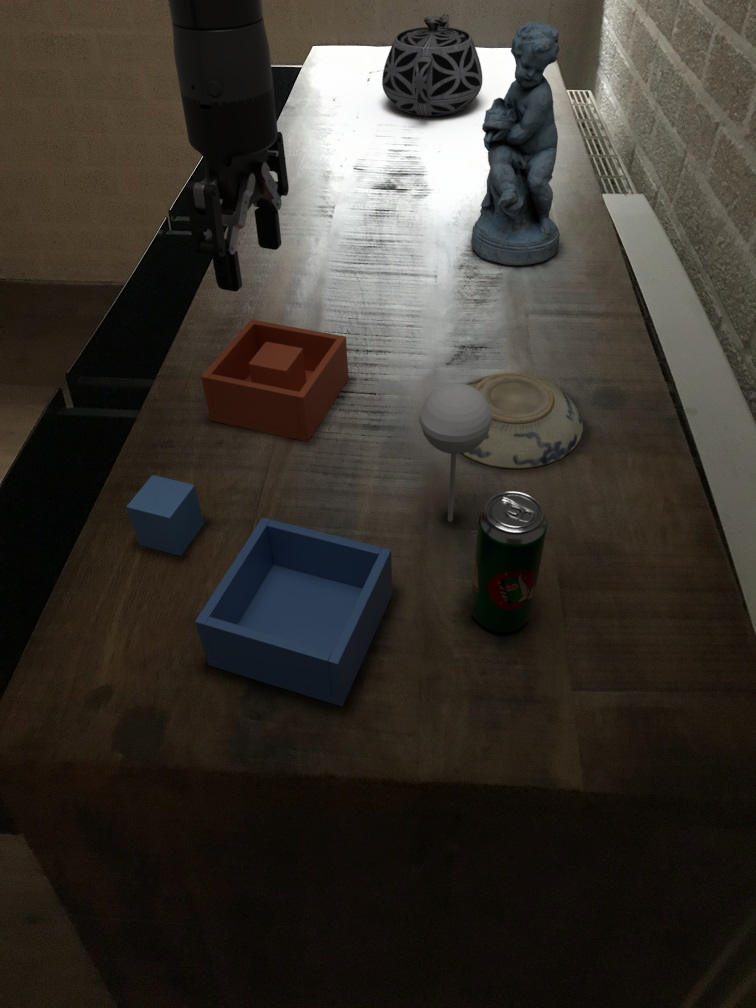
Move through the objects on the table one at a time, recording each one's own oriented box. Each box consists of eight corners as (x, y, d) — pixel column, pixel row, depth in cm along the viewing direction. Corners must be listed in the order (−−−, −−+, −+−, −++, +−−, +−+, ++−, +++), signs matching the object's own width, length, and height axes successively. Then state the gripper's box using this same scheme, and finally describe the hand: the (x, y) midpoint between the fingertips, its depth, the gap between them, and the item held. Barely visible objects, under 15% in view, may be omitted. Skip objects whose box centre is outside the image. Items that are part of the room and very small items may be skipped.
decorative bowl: (610, 424, 84) (503, 364, 92) (617, 396, 82) (506, 337, 90) (517, 493, 77) (410, 421, 85) (521, 465, 75) (410, 394, 83)
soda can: (486, 580, 69) (497, 478, 61) (540, 602, 67) (559, 501, 59) (459, 620, 66) (468, 520, 58) (515, 645, 64) (532, 545, 56)
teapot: (489, 80, 164) (495, -4, 154) (471, 134, 143) (476, 41, 133) (399, 76, 168) (398, -6, 157) (368, 129, 146) (365, 38, 136)
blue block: (139, 545, 73) (125, 506, 70) (164, 512, 76) (152, 474, 73) (181, 556, 72) (169, 518, 69) (204, 523, 75) (194, 484, 72)
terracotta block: (254, 401, 87) (248, 363, 84) (271, 379, 90) (266, 341, 86) (291, 409, 86) (286, 370, 82) (307, 386, 89) (303, 348, 85)
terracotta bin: (210, 420, 86) (200, 376, 82) (257, 361, 94) (250, 318, 90) (308, 442, 83) (303, 397, 79) (348, 379, 91) (346, 336, 87)
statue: (472, 288, 112) (490, 125, 87) (462, 168, 122) (476, -9, 97) (559, 284, 112) (602, 120, 87) (542, 165, 121) (577, -14, 96)
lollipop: (452, 488, 78) (459, 359, 67) (496, 521, 74) (510, 390, 64) (404, 518, 75) (404, 389, 64) (448, 553, 72) (455, 423, 61)
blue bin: (208, 665, 64) (194, 621, 60) (270, 562, 71) (262, 516, 67) (342, 707, 61) (337, 664, 57) (392, 594, 68) (391, 549, 64)
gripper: (225, 54, 70) (249, 230, 81) (138, 105, 61) (178, 297, 72) (303, 61, 68) (316, 240, 80) (226, 116, 59) (253, 311, 70)
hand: (251, 267), depth 76 cm, fingers open, 8 cm apart
